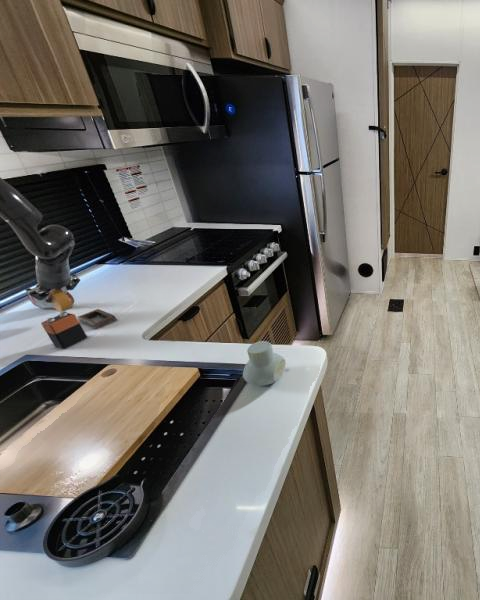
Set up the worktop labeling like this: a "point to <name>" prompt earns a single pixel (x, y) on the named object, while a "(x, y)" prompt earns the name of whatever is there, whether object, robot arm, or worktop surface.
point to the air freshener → (263, 364)
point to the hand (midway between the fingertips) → (55, 298)
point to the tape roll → (60, 301)
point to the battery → (64, 330)
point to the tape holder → (86, 320)
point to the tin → (47, 305)
